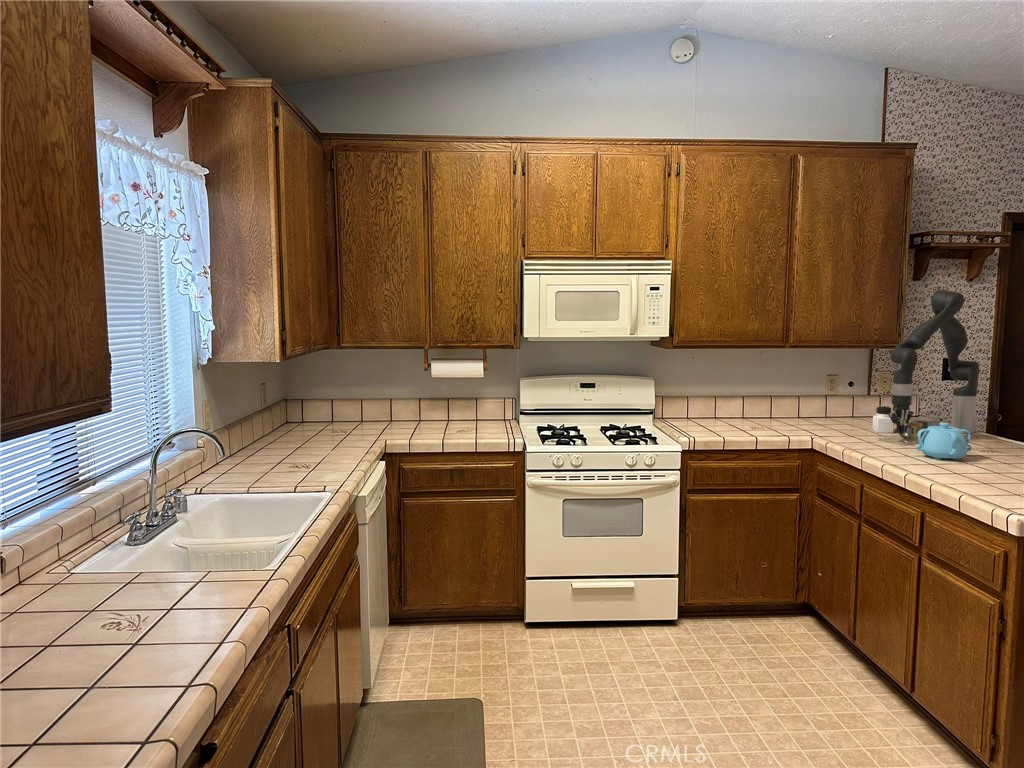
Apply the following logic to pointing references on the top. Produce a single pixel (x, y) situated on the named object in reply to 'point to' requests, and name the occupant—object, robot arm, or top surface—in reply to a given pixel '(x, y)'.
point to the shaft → (907, 432)
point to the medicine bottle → (883, 420)
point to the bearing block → (908, 441)
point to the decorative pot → (944, 442)
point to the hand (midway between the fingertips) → (900, 433)
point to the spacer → (915, 428)
